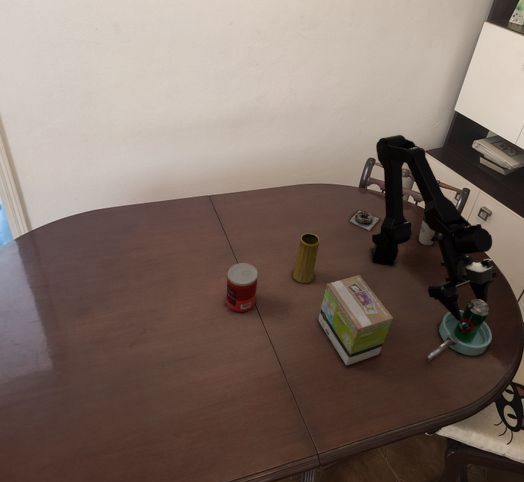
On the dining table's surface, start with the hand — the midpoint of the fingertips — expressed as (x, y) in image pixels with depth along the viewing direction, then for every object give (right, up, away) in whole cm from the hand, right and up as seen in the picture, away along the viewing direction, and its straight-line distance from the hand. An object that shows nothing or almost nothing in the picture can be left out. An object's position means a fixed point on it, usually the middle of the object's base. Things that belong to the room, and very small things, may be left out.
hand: (472, 314), depth 117 cm
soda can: (0, -7, +5) cm, 8 cm away
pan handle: (-9, -9, -2) cm, 13 cm away
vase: (-41, +8, +18) cm, 46 cm away
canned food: (-59, +2, +8) cm, 60 cm away
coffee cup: (+1, +17, +36) cm, 40 cm away
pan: (0, -7, +5) cm, 8 cm away
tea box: (-32, -6, +1) cm, 32 cm away
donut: (-18, +24, +42) cm, 51 cm away
